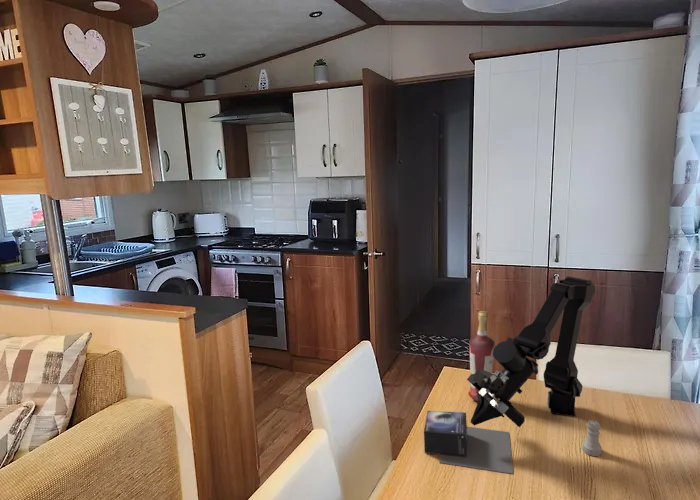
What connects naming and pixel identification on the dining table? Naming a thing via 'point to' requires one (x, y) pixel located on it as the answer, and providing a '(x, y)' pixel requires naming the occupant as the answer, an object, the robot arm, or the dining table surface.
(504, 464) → the mat
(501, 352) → the robot arm
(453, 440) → the small box
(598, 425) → the rook chess piece
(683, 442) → the dining table surface
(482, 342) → the liquor
